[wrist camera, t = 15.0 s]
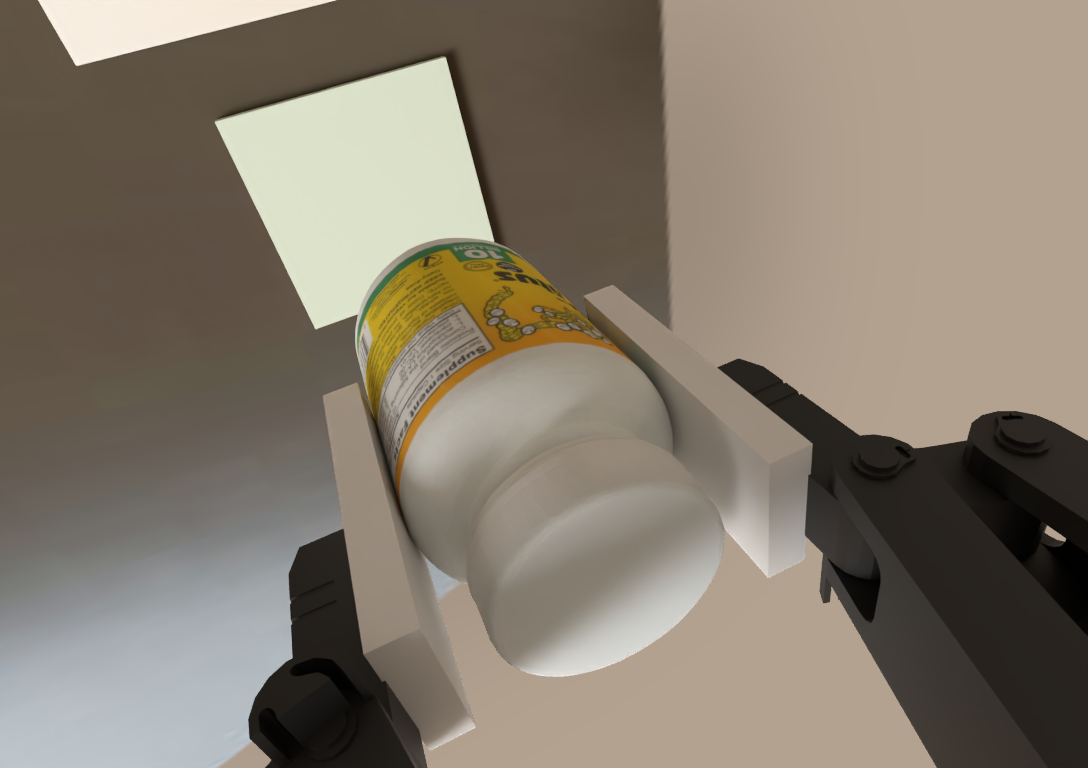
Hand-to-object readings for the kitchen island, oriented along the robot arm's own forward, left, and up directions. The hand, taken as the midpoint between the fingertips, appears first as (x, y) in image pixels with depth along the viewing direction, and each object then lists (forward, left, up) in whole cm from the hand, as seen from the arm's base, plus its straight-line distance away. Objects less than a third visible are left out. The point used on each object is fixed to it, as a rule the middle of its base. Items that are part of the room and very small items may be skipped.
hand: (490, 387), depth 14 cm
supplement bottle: (0, 0, -3) cm, 3 cm away
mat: (0, 0, -19) cm, 19 cm away
